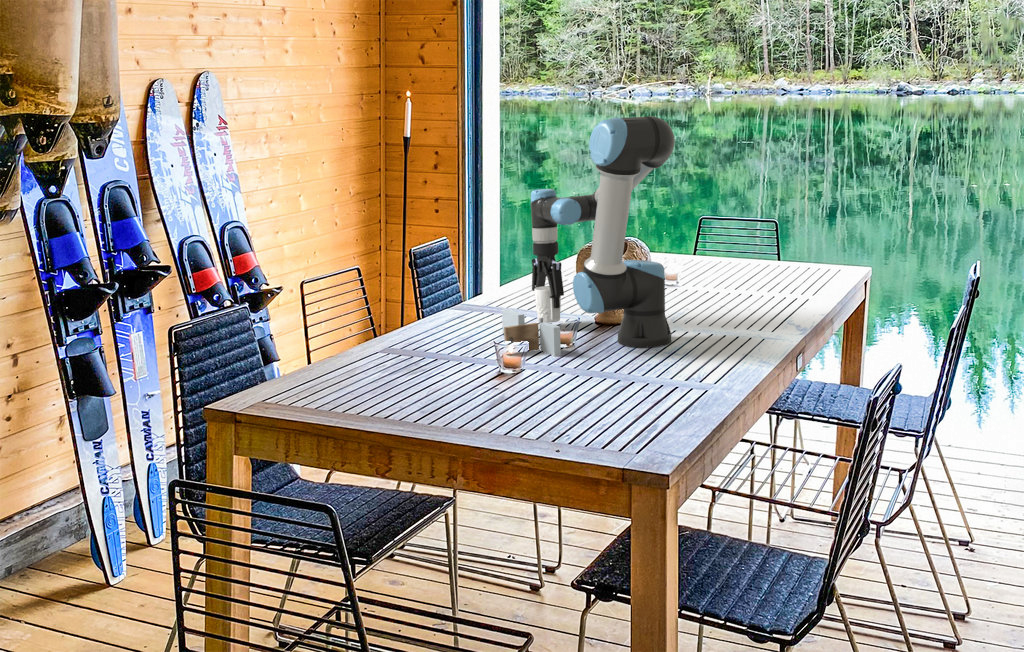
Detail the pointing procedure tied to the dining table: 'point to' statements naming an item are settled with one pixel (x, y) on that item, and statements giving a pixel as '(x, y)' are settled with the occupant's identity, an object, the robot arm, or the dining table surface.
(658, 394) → the dining table surface
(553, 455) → the dining table surface
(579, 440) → the dining table surface
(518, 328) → the door
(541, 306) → the white cup
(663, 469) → the dining table surface
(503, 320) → the wall frame
